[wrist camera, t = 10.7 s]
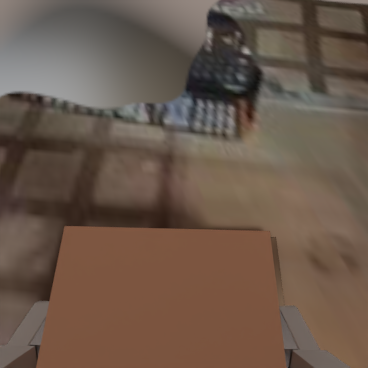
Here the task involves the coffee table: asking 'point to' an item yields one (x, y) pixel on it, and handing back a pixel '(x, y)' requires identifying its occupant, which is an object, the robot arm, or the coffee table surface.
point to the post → (163, 300)
